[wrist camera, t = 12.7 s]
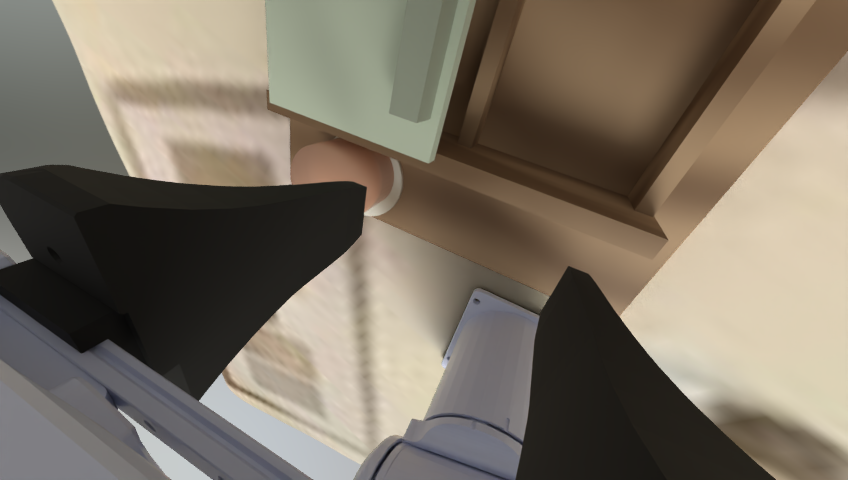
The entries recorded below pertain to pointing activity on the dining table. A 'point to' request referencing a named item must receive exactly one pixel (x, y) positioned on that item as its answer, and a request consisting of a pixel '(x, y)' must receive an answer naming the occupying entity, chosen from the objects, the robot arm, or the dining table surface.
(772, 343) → the dining table surface
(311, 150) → the tan domed cylinder
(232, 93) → the dining table surface
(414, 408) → the dining table surface
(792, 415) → the dining table surface
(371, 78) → the lid
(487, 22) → the brown wooden tray
